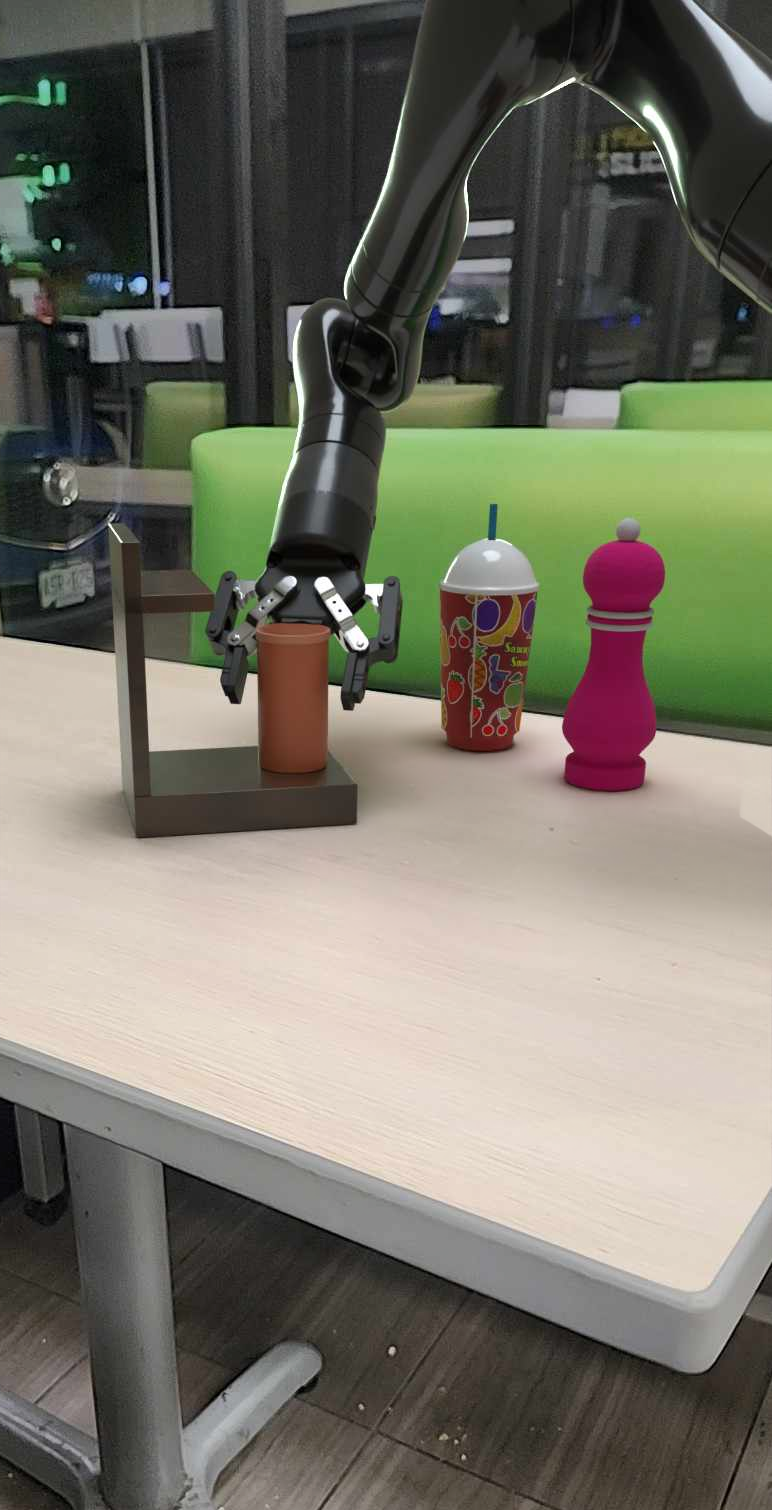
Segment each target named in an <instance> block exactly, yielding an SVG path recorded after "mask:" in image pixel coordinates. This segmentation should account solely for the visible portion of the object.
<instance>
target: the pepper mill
mask: <svg viewBox="0 0 772 1510" xmlns="http://www.w3.org/2000/svg"><path fill="white" fill-rule="evenodd" d="M641 530H642V529H641V525H640V523H639V521H638V520H637V519H635V518H632V517H626V518H624V519H622V520H620V521H619V522H618V523H617V525H616V528H615V535H616V538H617V539H616V540H611V541H608V542H606V543H604V544H602V545H600V546H599V547H597V548H596V549H595V550H593V551H592V553H591V554H590V555H589V556H588V558H587V560H586V563H585V565H584V568H583V573H582V574H583V575H582V585H583V588H584V590H585V592H586V594H587V596H588V597H589V599H590V600H591V605H589V606H587V608H586V613H587V618H586V620H585V625H586V626H587V627H589V628H590V648H589V655H588V661H587V664H586V667H585V669H584V672H583V675H582V676H581V678H580V680H579V682H578V684H577V685H576V688H575V690H574V691H573V693H572V695H571V696H570V698H569V700H568V703H567V705H566V708H565V710H564V713H563V718H562V723H561V724H562V725H561V731H562V734H563V737H564V739H565V740H566V742H567V743H568V745H569V746H570V748H571V749H572V752H570V753H569V754H567V755H566V756H565V761H564V772H563V777H564V779H565V781H566V782H567V783H569V784H570V785H573V786H575V787H579V788H583V789H587V790H592V791H601V792H603V791H604V792H620V791H629V790H633V789H637V788H639V787H641V786H642V785H643V784H644V782H645V776H646V767H647V762H646V759H644V757H642V756H641V754H642V752H644V750H645V749H647V748H648V746H650V744H651V743H652V742H653V741H654V739H655V737H656V733H657V713H656V707H655V703H654V700H653V697H652V694H651V691H650V689H649V686H648V683H647V679H646V675H645V670H644V663H643V660H644V659H643V657H644V644H645V640H646V635H647V630H650V629H652V628H653V626H654V622H653V616H654V615H655V609H654V608H653V607H650V606H651V604H652V602H653V601H654V600H655V599H656V598H657V597H658V596H659V595H660V593H661V592H662V591H663V588H664V586H665V581H666V568H665V567H666V566H665V563H664V560H663V558H662V555H661V554H660V553H659V551H658V550H657V549H656V548H655V547H653V546H652V545H650V544H648V543H646V542H643V541H639V540H637V539H639V537H640V535H641Z"/></svg>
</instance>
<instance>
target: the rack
mask: <svg viewBox="0 0 772 1510" xmlns="http://www.w3.org/2000/svg"><path fill="white" fill-rule="evenodd" d="M107 527H108V547H109V564H110V565H109V566H110V581H111V583H110V584H111V599H112V618H113V637H114V639H113V641H114V655H115V656H114V657H115V671H116V672H115V674H116V675H115V677H116V693H117V711H118V728H119V729H118V731H119V747H120V749H119V750H120V767H121V785H122V793H123V796H124V799H125V802H126V807H127V809H128V813H129V816H130V820H131V824H132V827H133V831H134V834H135V837H136V838H138V839H139V838H155V837H168V836H185V835H200V834H216V833H231V832H232V833H233V832H247V831H263V830H264V831H265V830H278V829H281V830H282V829H294V828H309V827H310V828H311V827H312V828H313V827H325V826H326V827H327V826H342V825H356V824H357V823H358V793H359V792H358V788H359V786H358V785H359V784H358V783H357V782H356V780H355V779H354V778H353V777H352V776H351V775H350V773H349V772H348V771H347V770H346V769H345V768H344V766H342V765H341V763H340V762H339V761H338V760H337V758H336V757H335V756H334V755H333V754H332V753H331V751H329V750H328V764H327V766H326V767H325V768H323V769H320V770H317V771H313V772H308V773H278V772H272V771H268V770H265V769H263V768H261V767H260V766H259V764H258V745H247V746H232V747H231V746H229V747H228V746H227V747H210V748H191V749H171V750H153V751H151V750H150V741H149V739H150V737H149V717H148V694H147V693H148V692H147V674H146V673H147V672H146V670H147V669H146V649H145V632H144V631H145V629H144V628H145V627H144V615H159V614H160V615H161V614H163V615H164V614H187V613H191V614H192V613H210V612H215V595H216V593H214V591H213V590H212V589H211V588H210V587H209V586H208V585H207V584H206V583H205V582H204V581H203V580H202V579H201V578H200V577H199V575H198V574H197V573H196V572H195V571H194V570H193V569H164V570H163V569H162V570H142V565H141V564H142V563H141V543H140V541H139V539H138V538H137V537H136V535H134V533H133V532H132V531H131V529H130V528H129V527H128V526H127V525H126V523H125V522H109V523H108V524H107Z"/></svg>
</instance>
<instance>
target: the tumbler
mask: <svg viewBox="0 0 772 1510" xmlns="http://www.w3.org/2000/svg"><path fill="white" fill-rule="evenodd" d="M268 624H269V623H268ZM268 624H266V625H264V626H260V627H258V628H256V639H257V653H256V668H257V669H256V670H257V671H256V672H257V673H256V674H257V678H256V679H257V746H258V764H259V766H260V767H261V768H263V769H265V770H268V771H272V772H278V773H308V772H313V771H317V770H320V769H323V768H325V767H326V766H327V764H328V751H329V748H328V746H329V667H330V664H329V661H330V659H329V658H330V656H329V655H330V639H331V636H330V628H328V627H326V626H322V625H317V624H305V623H278V624H269V625H268Z"/></svg>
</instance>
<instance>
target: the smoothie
mask: <svg viewBox="0 0 772 1510" xmlns="http://www.w3.org/2000/svg"><path fill="white" fill-rule="evenodd" d="M498 505H499V504H498V503H490V504H489V510H488V511H489V513H488V529H487V538H483V539H479V540H476V541H473V542H472V543H470V544H468V545H466V546H465V547H463V548H462V549H461V550H460V551H459V552H458V553H457V554H456V555H455V556H454V558H453V559H452V560H451V562H450V563H449V564H448V567H447V569H446V571H445V574H444V576H443V578H442V579H440V581H439V582H438V588H439V643H440V645H439V647H440V650H439V651H440V713H441V714H440V715H441V716H440V717H441V718H440V719H441V721H440V722H441V726H440V727H441V729H442V730H443V731H444V732H445V734H446V743H448V744H449V745H450V746H452V747H454V748H456V749H459V750H464V751H471V752H493V751H501V750H504V749H507V748H509V747H511V746H513V741H514V738H515V735H516V734H517V733H519V732H520V728H521V723H522V722H521V721H522V713H523V707H524V698H525V692H526V685H527V676H528V668H529V661H530V655H531V646H532V638H533V633H534V624H535V615H536V608H537V602H538V601H537V600H538V593H539V589H540V585H541V584H540V582H539V581H537V579H536V576H535V572H534V570H533V569H534V568H533V566H532V564H531V562H530V560H529V559H528V557H527V556H526V555H525V554H524V552H523V551H522V550H521V549H520V548H518V547H517V546H516V545H514V544H512V543H510V542H508V541H506V540H504V539H500V538H496V537H497V524H498V523H497V522H498V521H497V520H498V507H499V506H498Z"/></svg>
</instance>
